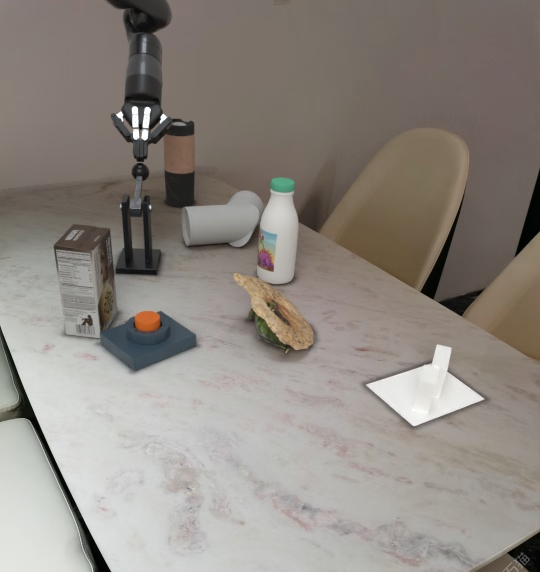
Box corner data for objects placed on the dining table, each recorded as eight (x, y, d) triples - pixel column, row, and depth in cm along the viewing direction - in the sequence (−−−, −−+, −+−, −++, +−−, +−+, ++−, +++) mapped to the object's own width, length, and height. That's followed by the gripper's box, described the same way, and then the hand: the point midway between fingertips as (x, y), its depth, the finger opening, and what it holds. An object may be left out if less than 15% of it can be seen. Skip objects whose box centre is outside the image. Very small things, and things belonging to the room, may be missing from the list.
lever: (133, 172, 124) (131, 158, 121) (150, 173, 125) (149, 159, 122) (127, 218, 118) (125, 205, 115) (145, 219, 118) (144, 206, 115)
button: (144, 335, 94) (143, 325, 93) (130, 324, 96) (129, 315, 96) (165, 327, 97) (165, 318, 96) (151, 317, 99) (150, 308, 98)
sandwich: (316, 366, 108) (339, 337, 104) (261, 379, 97) (285, 347, 93) (261, 297, 115) (281, 267, 110) (205, 301, 104) (224, 269, 100)
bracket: (123, 252, 127) (118, 189, 120) (160, 254, 128) (158, 191, 120) (116, 273, 119) (110, 206, 111) (156, 274, 120) (154, 208, 112)
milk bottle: (289, 268, 127) (298, 174, 116) (297, 285, 121) (307, 187, 109) (253, 268, 125) (259, 173, 114) (259, 285, 119) (266, 186, 108)
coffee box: (83, 308, 107) (73, 222, 98) (118, 312, 106) (111, 226, 97) (64, 335, 99) (51, 244, 90) (102, 339, 99) (93, 248, 90)
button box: (134, 371, 92) (133, 349, 90) (100, 343, 98) (98, 322, 96) (196, 345, 99) (196, 325, 97) (161, 321, 105) (160, 301, 103)
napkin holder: (433, 361, 100) (441, 332, 97) (485, 398, 93) (496, 368, 89) (364, 385, 93) (370, 354, 90) (414, 427, 86) (423, 395, 82)
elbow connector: (255, 255, 128) (271, 222, 144) (247, 207, 122) (264, 179, 139) (178, 260, 132) (202, 228, 148) (166, 214, 127) (193, 186, 143)
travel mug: (170, 208, 151) (167, 126, 140) (161, 198, 157) (159, 118, 146) (198, 206, 154) (199, 125, 143) (189, 196, 160) (189, 117, 148)
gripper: (108, 69, 120) (103, 148, 117) (174, 74, 121) (171, 152, 118) (114, 93, 128) (109, 167, 124) (176, 97, 129) (173, 170, 126)
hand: (140, 159), depth 121 cm, fingers closed
